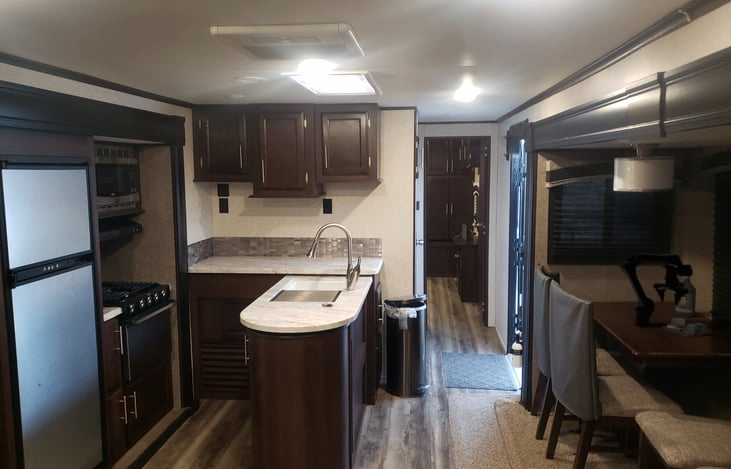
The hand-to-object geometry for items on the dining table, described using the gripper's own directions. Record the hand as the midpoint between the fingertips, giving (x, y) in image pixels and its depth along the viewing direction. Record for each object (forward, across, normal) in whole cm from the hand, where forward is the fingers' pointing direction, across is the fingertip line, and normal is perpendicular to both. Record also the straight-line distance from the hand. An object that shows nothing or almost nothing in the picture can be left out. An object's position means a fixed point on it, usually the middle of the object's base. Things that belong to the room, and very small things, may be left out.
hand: (669, 303), depth 299 cm
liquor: (+13, +14, -29) cm, 34 cm away
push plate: (+11, -7, +2) cm, 13 cm away
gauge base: (+13, -12, +2) cm, 18 cm away
